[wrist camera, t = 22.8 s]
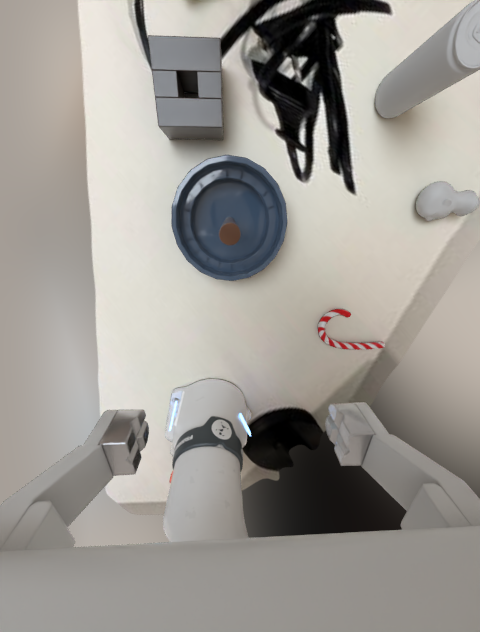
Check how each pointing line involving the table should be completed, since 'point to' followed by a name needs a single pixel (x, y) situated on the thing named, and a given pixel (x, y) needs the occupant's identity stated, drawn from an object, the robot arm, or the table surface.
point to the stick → (229, 232)
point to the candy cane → (342, 344)
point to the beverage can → (433, 64)
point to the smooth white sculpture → (445, 201)
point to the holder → (188, 86)
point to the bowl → (229, 201)
